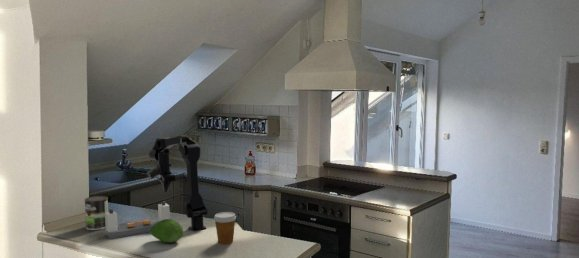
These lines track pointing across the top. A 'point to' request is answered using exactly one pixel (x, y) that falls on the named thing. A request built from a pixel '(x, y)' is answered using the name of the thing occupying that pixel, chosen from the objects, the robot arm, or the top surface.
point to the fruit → (167, 231)
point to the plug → (163, 211)
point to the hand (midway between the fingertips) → (165, 191)
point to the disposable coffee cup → (225, 227)
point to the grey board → (131, 230)
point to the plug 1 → (111, 221)
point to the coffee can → (96, 212)
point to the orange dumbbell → (138, 222)
